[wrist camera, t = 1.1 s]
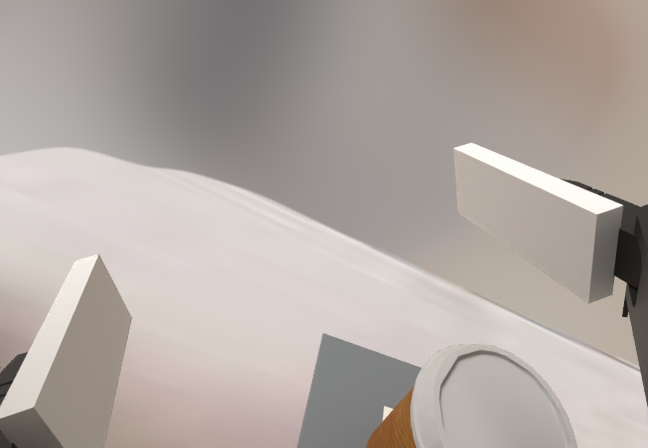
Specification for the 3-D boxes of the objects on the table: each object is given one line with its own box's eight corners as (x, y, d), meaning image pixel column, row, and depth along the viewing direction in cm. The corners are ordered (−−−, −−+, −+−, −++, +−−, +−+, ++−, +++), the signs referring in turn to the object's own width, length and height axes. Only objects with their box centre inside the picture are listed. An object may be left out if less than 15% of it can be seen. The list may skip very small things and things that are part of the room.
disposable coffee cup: (426, 385, 36) (518, 322, 27) (485, 516, 31) (621, 490, 22) (324, 417, 32) (394, 354, 23) (374, 574, 27) (487, 570, 18)
